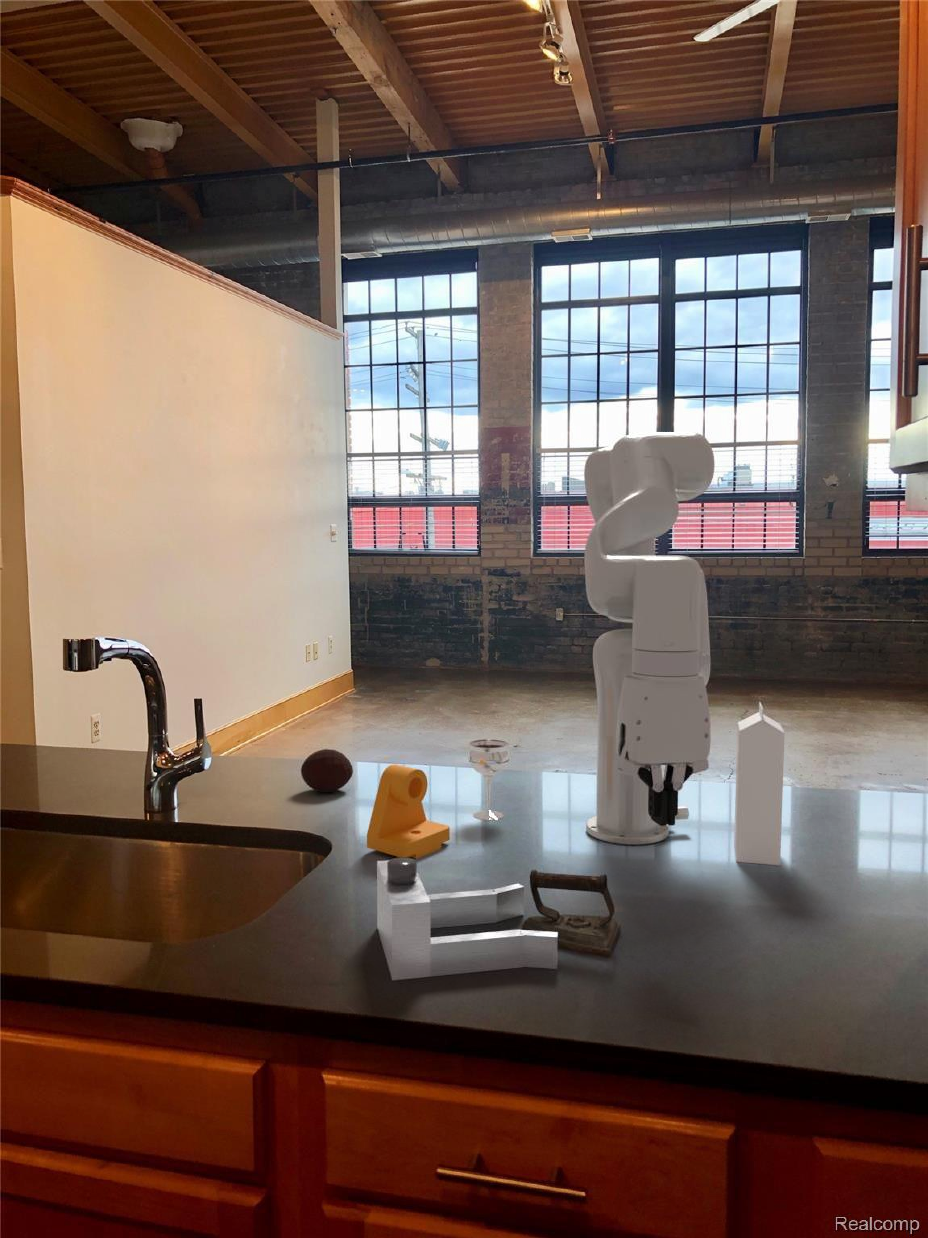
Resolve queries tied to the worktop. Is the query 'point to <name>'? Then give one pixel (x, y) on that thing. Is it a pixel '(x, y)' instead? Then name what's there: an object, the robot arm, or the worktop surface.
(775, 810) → the milk
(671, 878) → the worktop surface
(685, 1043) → the worktop surface
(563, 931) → the clothes iron
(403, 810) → the bracket
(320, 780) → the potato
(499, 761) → the wineglass
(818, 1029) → the worktop surface
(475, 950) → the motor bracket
